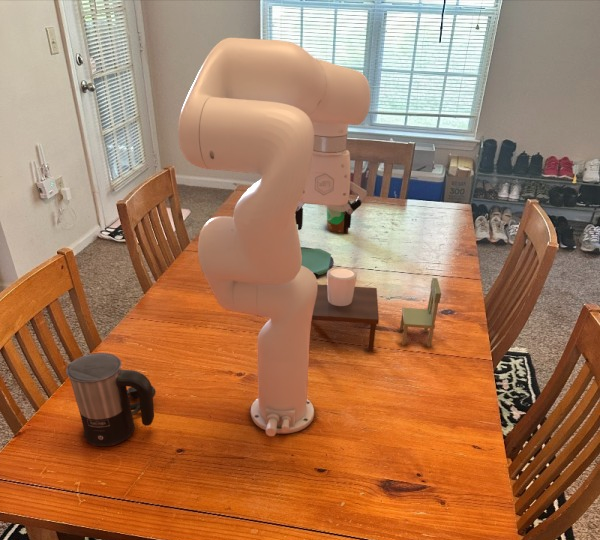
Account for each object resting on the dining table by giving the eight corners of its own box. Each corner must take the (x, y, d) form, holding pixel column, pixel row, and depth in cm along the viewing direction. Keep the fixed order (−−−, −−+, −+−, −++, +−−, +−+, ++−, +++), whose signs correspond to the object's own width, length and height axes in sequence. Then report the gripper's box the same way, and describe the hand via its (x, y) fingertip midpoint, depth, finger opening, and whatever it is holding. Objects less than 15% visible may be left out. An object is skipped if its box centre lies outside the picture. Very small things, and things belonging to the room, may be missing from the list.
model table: (374, 353, 132) (378, 319, 126) (297, 348, 133) (298, 314, 127) (372, 320, 145) (376, 287, 139) (302, 315, 145) (303, 283, 140)
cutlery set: (331, 282, 161) (331, 275, 160) (227, 274, 164) (227, 267, 162) (335, 255, 177) (336, 248, 176) (241, 248, 179) (241, 241, 178)
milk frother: (82, 451, 103) (64, 384, 94) (83, 400, 114) (67, 337, 106) (162, 438, 106) (152, 373, 97) (155, 390, 118) (145, 328, 109)
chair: (430, 347, 134) (441, 293, 126) (401, 345, 135) (409, 291, 126) (427, 330, 141) (437, 278, 132) (399, 328, 141) (407, 276, 133)
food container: (317, 225, 198) (318, 196, 192) (333, 223, 200) (334, 194, 194) (333, 237, 189) (335, 207, 183) (349, 235, 191) (352, 205, 185)
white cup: (320, 302, 132) (321, 275, 128) (332, 291, 137) (334, 264, 133) (347, 310, 130) (349, 281, 125) (359, 298, 134) (361, 270, 130)
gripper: (281, 145, 108) (280, 232, 118) (371, 150, 107) (362, 238, 117) (285, 136, 114) (284, 221, 124) (371, 141, 113) (363, 226, 123)
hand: (322, 229), depth 121 cm, fingers open, 9 cm apart
